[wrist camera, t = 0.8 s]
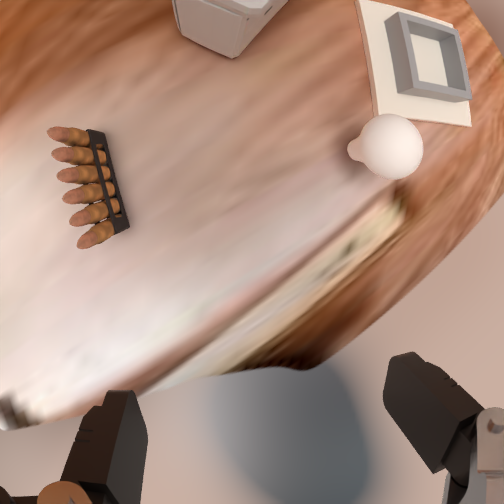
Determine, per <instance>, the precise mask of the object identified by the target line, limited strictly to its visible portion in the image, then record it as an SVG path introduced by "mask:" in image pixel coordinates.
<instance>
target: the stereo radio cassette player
mask: <svg viewBox="0 0 504 504" xmlns="http://www.w3.org/2000/svg"><path fill="white" fill-rule="evenodd" d="M288 1H289V0H172V4H173V9H174V14H175V18H176V22H177V26H178V28H179V31H180V32H181V33H182V35H183V36H185V37H187V38H189V39H191V40H193V41H194V42H196V43H198V44H200V45H202V46H204V47H206V48H209V49H211V50H213V51H215V52H218V53H220V54H222V55H225V56H227V57H229V58H231V59H232V58H234V57H238V56H239V55H240V54H241V53H242V51H243V50H244V49H245V48H246V47H247V46H248V44H249V43H250V42H251V41H252V40H253V39H254V38H255V36H256V35H257V34H258V33H259V32H260V31H261V30H262V28H263V27H264V26H265V25H266V24H267V23H268V22H269V21H270V20H271V19H272V17H273V16H274V15H275V14H276V13H277V12H278V11H279V10H280V9H281V8H282V7H283V6H284V5H285V4H286V3H287V2H288Z"/></svg>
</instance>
